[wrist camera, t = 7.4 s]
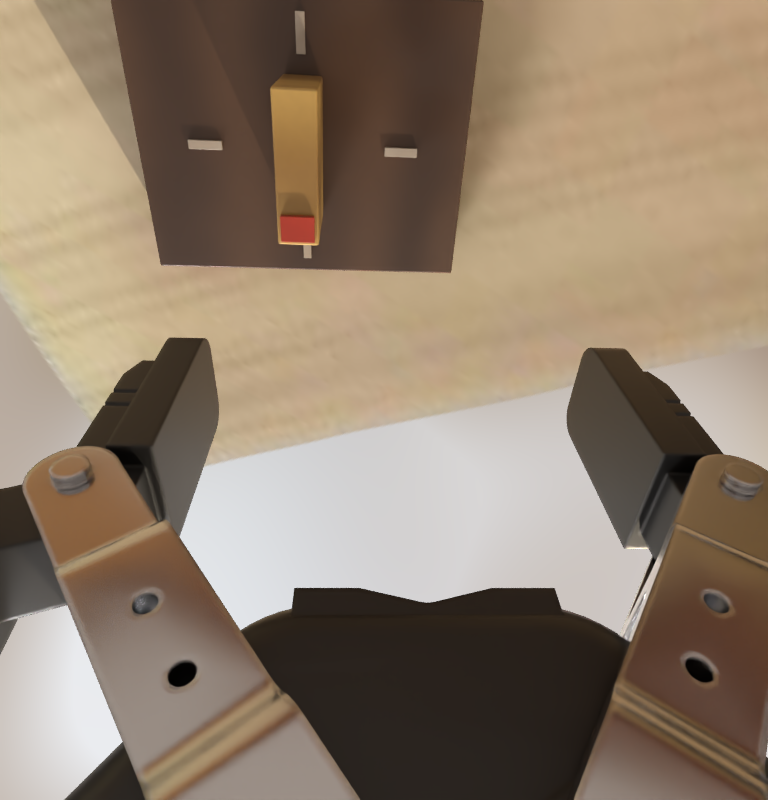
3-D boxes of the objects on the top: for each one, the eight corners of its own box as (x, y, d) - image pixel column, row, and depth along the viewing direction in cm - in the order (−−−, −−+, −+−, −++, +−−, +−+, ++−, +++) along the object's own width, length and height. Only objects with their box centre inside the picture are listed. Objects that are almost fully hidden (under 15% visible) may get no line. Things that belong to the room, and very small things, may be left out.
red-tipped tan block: (282, 73, 23) (268, 87, 19) (322, 75, 23) (316, 90, 19) (287, 212, 26) (277, 246, 22) (323, 213, 26) (318, 248, 22)
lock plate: (470, 0, 24) (485, 0, 21) (443, 251, 30) (451, 275, 28) (132, -19, 23) (104, -22, 20) (176, 244, 29) (159, 267, 27)
